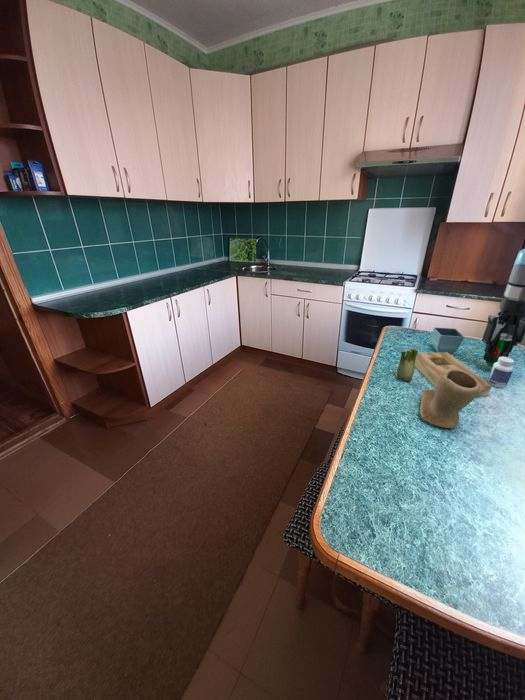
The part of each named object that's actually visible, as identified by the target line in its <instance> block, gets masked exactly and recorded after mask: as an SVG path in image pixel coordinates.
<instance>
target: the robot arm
mask: <svg viewBox="0 0 525 700" xmlns="http://www.w3.org/2000/svg"><path fill="white" fill-rule="evenodd" d="M506 329H507V334H509V335H511V336H512V339H513V341H512V343H511V346H510V348H509V351H508V353H507V356H506V357H508V358H509V356H510V353H512V351H513V348H514V347H517V346H518V344H520V343H522V341H523V339H524V336H525V248H523V249H521V250H519V252H518V253H517V256H516V259H515V261H514V262H513V266H512V269H511V273H510V275H509V279H508V282H507V284H506V286H505V290H504V292H503V297H502V298H501V301H500V304H499V312H498V313H497V314H495V315H488V317H487V324H486V327H485V330H484V333H483V335H482V339H481V342H482V343H484V344H485V347H484V350H483V351H484V354H483V358H482V360H483V361H485V362H486V361H487V362H491V359H492V356H493V353H494V351H495V348H496V346H495V345H494V344H495V343H496V341H497V340H498V338H499V336H500V335H501V333H504V330H506Z"/></svg>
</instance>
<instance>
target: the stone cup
mask: <svg viewBox="0 0 525 700" xmlns="http://www.w3.org/2000/svg"><path fill="white" fill-rule="evenodd" d="M479 390H480V384H479V382H478V381H477V379H476V378H475V377H473V376H472V375H471V374H469V373H467V372H465V371H463V370H460V369H447V370H445V371H443V372H442V374H441V375H440V377H439V379H438V381H437V383H436V386H435V387H434V389H425V390H423V392H422V395H421V400H420V407H419V413H420V418H421V419H422V420H424V421H425V422H427V423H428V424H431V425H433V426H436V427H438V428H444V429H455V428H456V427H457V426H458V424H459V420H460V412H461V411H462V410H463V409H464V408H465V407H467V406H468V405H469V404H470V403H472V402H473V401H474V400H475V399H476V398H477V397H476V395H477V394H478V392H479Z"/></svg>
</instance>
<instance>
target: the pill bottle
mask: <svg viewBox="0 0 525 700" xmlns="http://www.w3.org/2000/svg"><path fill="white" fill-rule="evenodd" d="M514 363H515V360H514V359H513V358H511V357H509V356H508V357H499V359H498V362H496V363H494V365H493V367H491V370H490V373H489V375H488V378H487V381H486V382H487V383H488V384H489V385H491V387H495V388H498V389H505V388H507V386H508V384H509V381H510V379H511V376H512V375H513V372H514V369H515V368H514V366H513V365H514Z"/></svg>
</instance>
